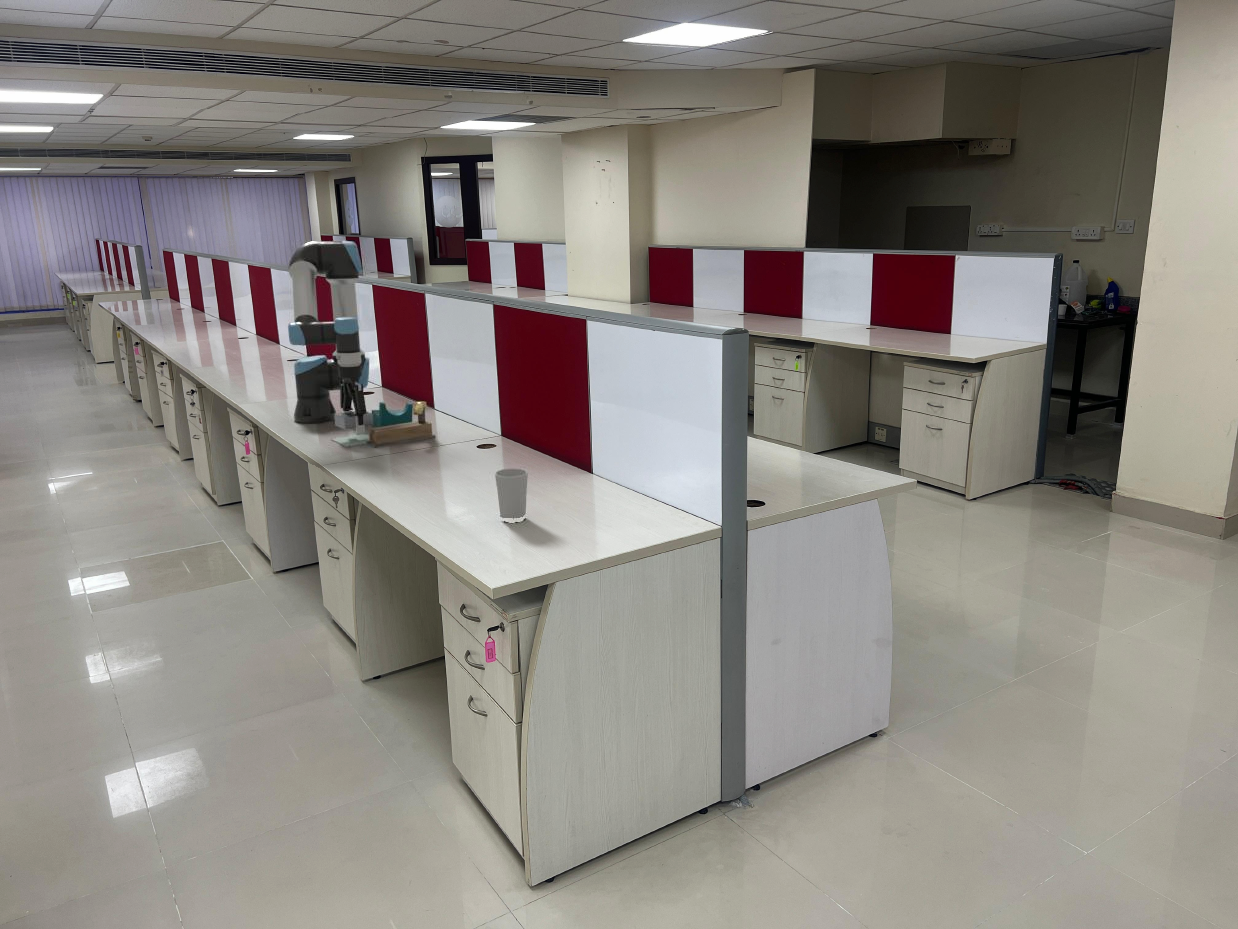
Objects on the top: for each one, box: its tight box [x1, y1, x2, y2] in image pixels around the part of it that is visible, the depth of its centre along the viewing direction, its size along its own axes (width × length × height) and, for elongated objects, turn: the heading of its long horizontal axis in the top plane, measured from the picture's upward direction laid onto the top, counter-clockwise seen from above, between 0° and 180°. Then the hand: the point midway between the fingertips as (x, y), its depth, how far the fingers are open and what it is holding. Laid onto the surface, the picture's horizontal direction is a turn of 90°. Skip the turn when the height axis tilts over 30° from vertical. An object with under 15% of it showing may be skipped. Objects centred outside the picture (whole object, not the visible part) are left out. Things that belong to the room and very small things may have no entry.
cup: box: [494, 467, 529, 519], centre depth 217 cm, size 8×8×12 cm
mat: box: [331, 433, 370, 448], centre depth 299 cm, size 12×12×1 cm
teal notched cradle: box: [371, 401, 414, 428], centre depth 316 cm, size 18×11×10 cm, turn 25°
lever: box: [413, 401, 427, 416], centre depth 296 cm, size 4×13×2 cm, turn 7°
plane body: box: [365, 409, 437, 448], centre depth 298 cm, size 7×22×10 cm, turn 130°
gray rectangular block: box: [334, 410, 374, 431], centre depth 297 cm, size 8×10×4 cm
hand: (355, 432), depth 298 cm, fingers closed on gray rectangular block, 8 cm apart
